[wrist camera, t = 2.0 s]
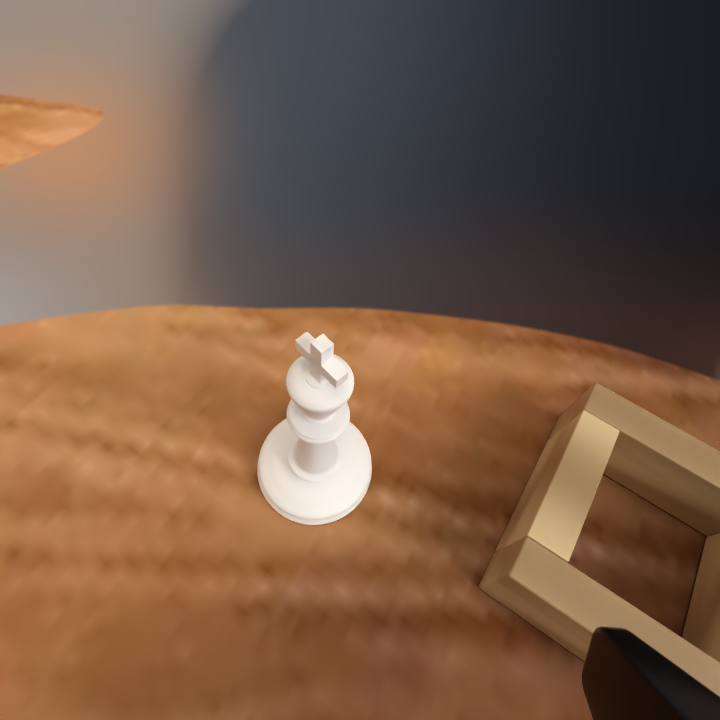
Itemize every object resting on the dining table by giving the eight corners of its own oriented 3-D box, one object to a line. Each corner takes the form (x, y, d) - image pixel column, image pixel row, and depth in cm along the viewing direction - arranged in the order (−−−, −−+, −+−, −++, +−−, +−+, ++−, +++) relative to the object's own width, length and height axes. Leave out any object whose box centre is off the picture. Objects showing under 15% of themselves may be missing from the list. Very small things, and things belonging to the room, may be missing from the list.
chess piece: (319, 395, 23) (328, 244, 14) (394, 470, 21) (453, 352, 13) (234, 462, 21) (185, 334, 12) (309, 551, 19) (313, 474, 11)
